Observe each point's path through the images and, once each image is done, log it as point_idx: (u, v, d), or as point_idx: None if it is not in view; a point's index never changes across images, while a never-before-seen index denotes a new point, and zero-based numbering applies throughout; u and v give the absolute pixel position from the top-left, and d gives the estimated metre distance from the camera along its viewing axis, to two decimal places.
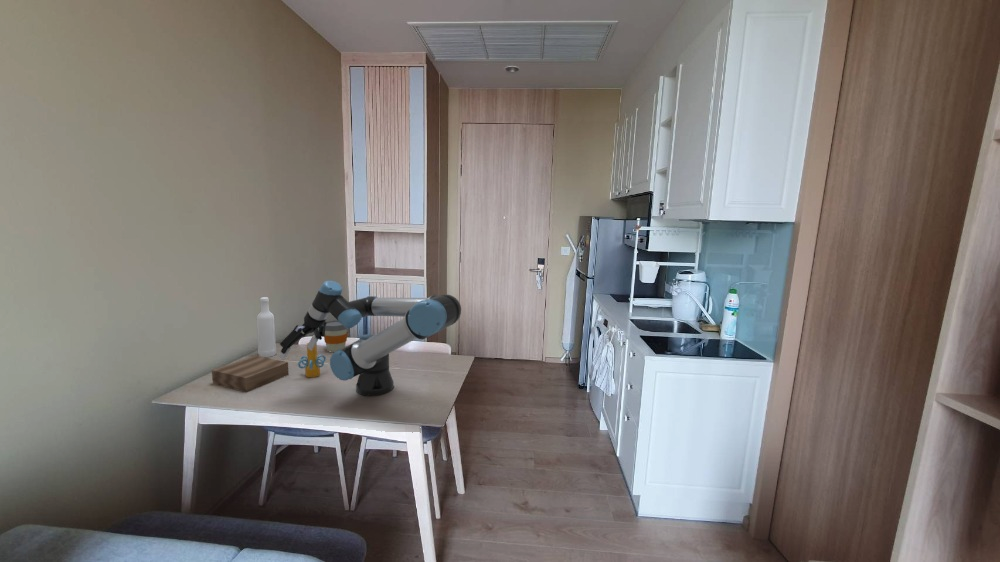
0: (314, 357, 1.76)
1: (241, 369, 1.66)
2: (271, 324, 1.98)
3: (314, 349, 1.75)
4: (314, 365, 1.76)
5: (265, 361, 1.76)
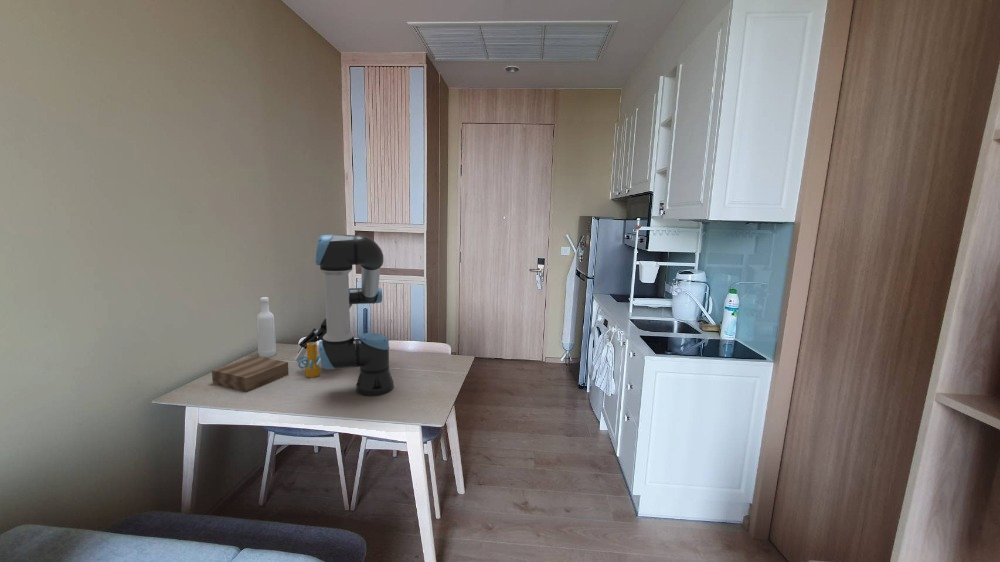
0: (314, 357, 1.76)
1: (241, 369, 1.66)
2: (271, 324, 1.98)
3: (314, 349, 1.75)
4: (314, 365, 1.76)
5: (265, 361, 1.76)
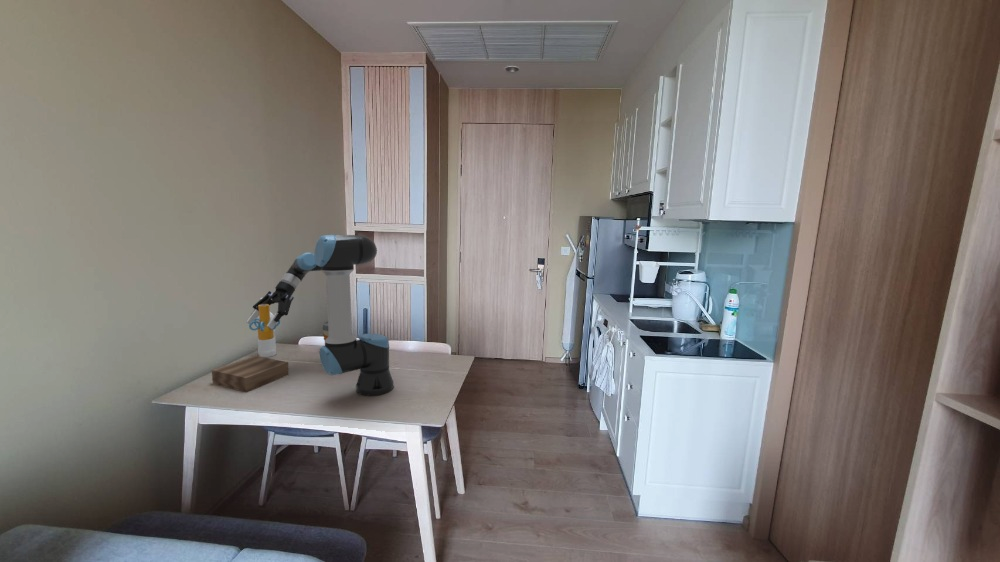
0: (266, 319, 1.70)
1: (241, 369, 1.66)
2: None
3: (266, 310, 1.70)
4: (266, 327, 1.71)
5: (265, 361, 1.76)
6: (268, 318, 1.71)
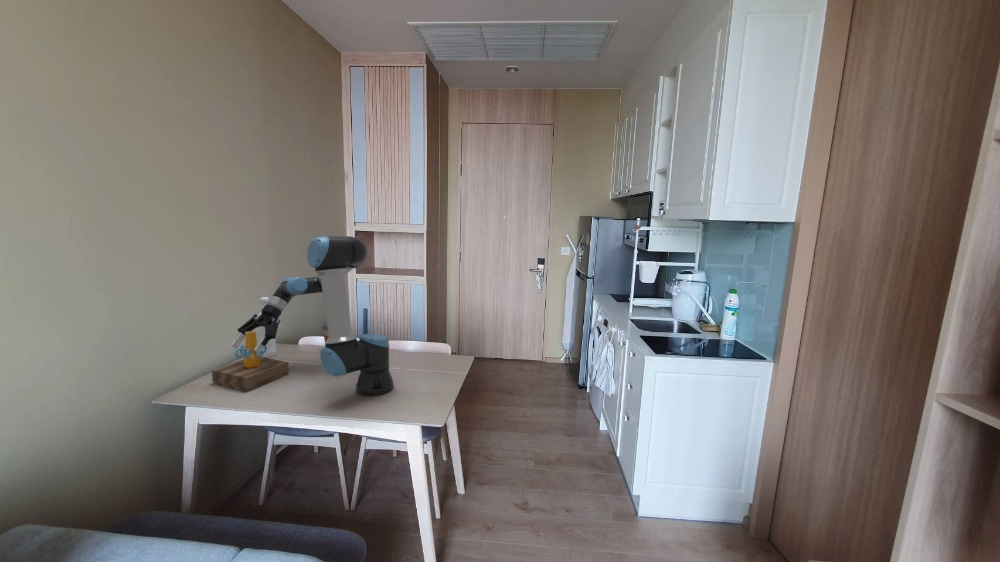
0: (253, 346, 1.69)
1: (241, 369, 1.66)
2: None
3: (253, 338, 1.68)
4: (253, 355, 1.69)
5: (265, 361, 1.76)
6: (255, 345, 1.69)
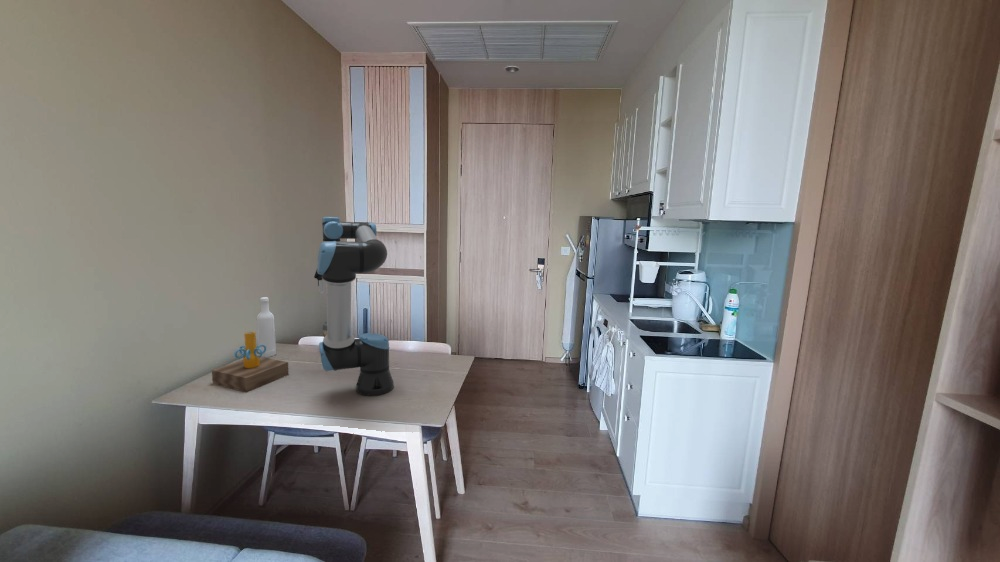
0: (252, 347, 1.68)
1: (241, 369, 1.66)
2: (271, 323, 1.98)
3: (252, 338, 1.68)
4: (252, 355, 1.68)
5: (265, 361, 1.76)
6: (254, 345, 1.69)
